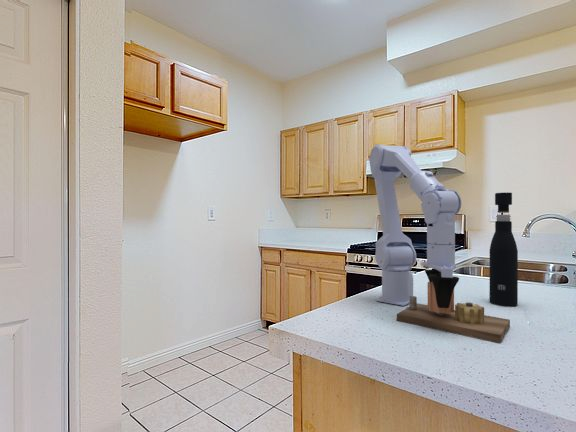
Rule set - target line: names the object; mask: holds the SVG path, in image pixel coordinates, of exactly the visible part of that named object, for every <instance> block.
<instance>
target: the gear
mask: <svg viewBox="0 0 576 432" xmlns="http://www.w3.org/2000/svg"><path fill="white" fill-rule="evenodd" d="M427 305H428V309H429V311H434V312H436V313H446V314H450V313H451V312H452V313H454V310H455V289H454V290H453V293H452V297H451V301H450V305H449V308H439V307H438V305H437V302H436V295H435V289H434V286H433V283H432V282H429V281H428V282H427Z"/></svg>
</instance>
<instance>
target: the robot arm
mask: <svg viewBox="0 0 576 432" xmlns="http://www.w3.org/2000/svg"><path fill="white" fill-rule="evenodd" d="M368 159H369V160H368V162H369V167H370V173H371V176H372V177H373V178H374V185H375V192H376V198H377V203H378V210H379V216H380V217H379V218H380V223H381V229H382V236H381V237H380V238H379V239H378V240H377V241H376V242H375V255H374V257H375V262H376V265H378V267H379V269H381V297H378V298H376V299H375V300H376V302H380V303H386V304H390V305H397V306H401V307H404V306H407V305H409V296H414V276H413V273H412V272H411V270H412V269H413V266H414V265H415V264H416V262H417V252H416V250H415V248H414V246H413V243H412V239H411V238H410V237H409V236H407V235H406V234H404V233H403V228H402V223H401V217H400V216H401V215H400V212H399V206H398V201H397V195H396V193H397V192H396V189H395V183H394V182H395V179H398V178H399V177H400V176H401V174H403V175H404V176H405V177H406V178H407V179H408V180H409V187H410V189H411V190H412V192H414V194H415V195H416V196H417V198H418V199H419V200H420V201H421V203H420V206H421V207H420V208H421V211H422V213H423V215H424V221H425V224H426V261H421V266H422V267H426V268H427V269H424V273H425V274H426V276H427V279H428V282H432V283H433V286H434V289H435V295H436V302H437V305H438V307H439V308H449V305H450V301H451V297H452V293H453V290H454V291H455V287H456V286H457V284H458V283H459V280H460V277H458V276H453V271H454V270H455V269H456V267H457V264H456V215H457V214H458V213H459V212H460V210H461V208H462V199H461V196H460V194H459V193H458V191H457V190H454V189H448V188H445V186H444V184H443V183H440V181H439V180H438V179H437V178H436V177H435V176H434V174H435V173H433V172H432V171H428V170H422V169H421V168H420V167H419V165H418V164H417V163H416V161H415V160H414V158H412V151H411V150H410V148H408V146H406V145H385V144H379V143H378V144H374V146H373V147H372V148H371V150H370V154H369V158H368ZM428 268H431V269H428Z"/></svg>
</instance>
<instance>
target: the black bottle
mask: <svg viewBox="0 0 576 432" xmlns="http://www.w3.org/2000/svg"><path fill="white" fill-rule="evenodd" d="M494 205H495V206H497V213H498V214H496V219H495V220H496V221H495V223H494V228H495V229H494V233H493V236H492V239H491V242H490V246H489V295H488V296H489V299H488V300H489V303H490V304H492V305H496V306H500V307H510V308H511V307H517V306H518V305H519V304H518V303H519V302H518V298H519V297H518V296H519V295H518V294H519V293H518V291H519V289H518V285H519V281H518V280H519V277H518V275H519V274H518V270H519V269H518V264H519V262H518V261H519V260H518V259H519V256H518V255H519V254H518V253H519V252H518V247H517V243H516V240H515V237H514V234H513V228H512V227H513V224H512V223H513V222H512V221H511V214H507V213H509V212H510V206H511V205H513V192H496V193H494ZM499 213H503V214H499Z"/></svg>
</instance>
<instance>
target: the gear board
mask: <svg viewBox="0 0 576 432" xmlns="http://www.w3.org/2000/svg"><path fill="white" fill-rule="evenodd" d="M417 300H418V298H417V296H415V295H413V296H409V304H408V305H409V307H407V308H405V309H403V310H401V311H398V313H396V321H397V322H402V323H407V324H412V325H416V326H420V327H425V328H429V329H433V330H438V331H444V332H447V333H453V334H456V333H457V334H456V335H461V334H462V335H461V336H466V337H471V338H476V339H479V340H480V339H481V340H484V341H490V342H494V343H498V344H501V343H502V341H503V340H504V338H505V336H506V335H507V332H508V331H509V329H510V327H511V319H508V318H503V317H498V316H497V317H496V316H490V315H485V307H484V306H481V305H480V304H478V303H472V302H463V303H461V302H457V303H456V304H454V313H452V312H451V313H450V314H446V313H436V312H434V311H429V309H428V304H421V303H417Z"/></svg>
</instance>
